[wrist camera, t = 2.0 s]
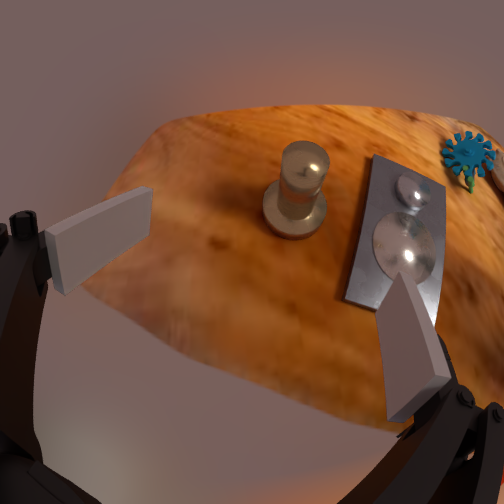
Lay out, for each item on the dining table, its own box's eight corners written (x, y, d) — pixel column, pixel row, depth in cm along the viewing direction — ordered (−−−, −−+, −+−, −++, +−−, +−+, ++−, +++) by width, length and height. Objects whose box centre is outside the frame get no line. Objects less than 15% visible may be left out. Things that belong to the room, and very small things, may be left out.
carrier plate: (441, 190, 32) (449, 182, 29) (428, 328, 26) (439, 326, 24) (371, 158, 33) (377, 148, 31) (341, 300, 27) (348, 296, 25)
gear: (442, 128, 34) (493, 129, 26) (450, 151, 37) (496, 154, 29) (437, 176, 32) (496, 181, 24) (444, 199, 36) (497, 205, 28)
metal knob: (328, 196, 31) (352, 143, 22) (314, 248, 29) (338, 206, 20) (273, 178, 32) (278, 120, 23) (253, 228, 30) (252, 178, 21)
